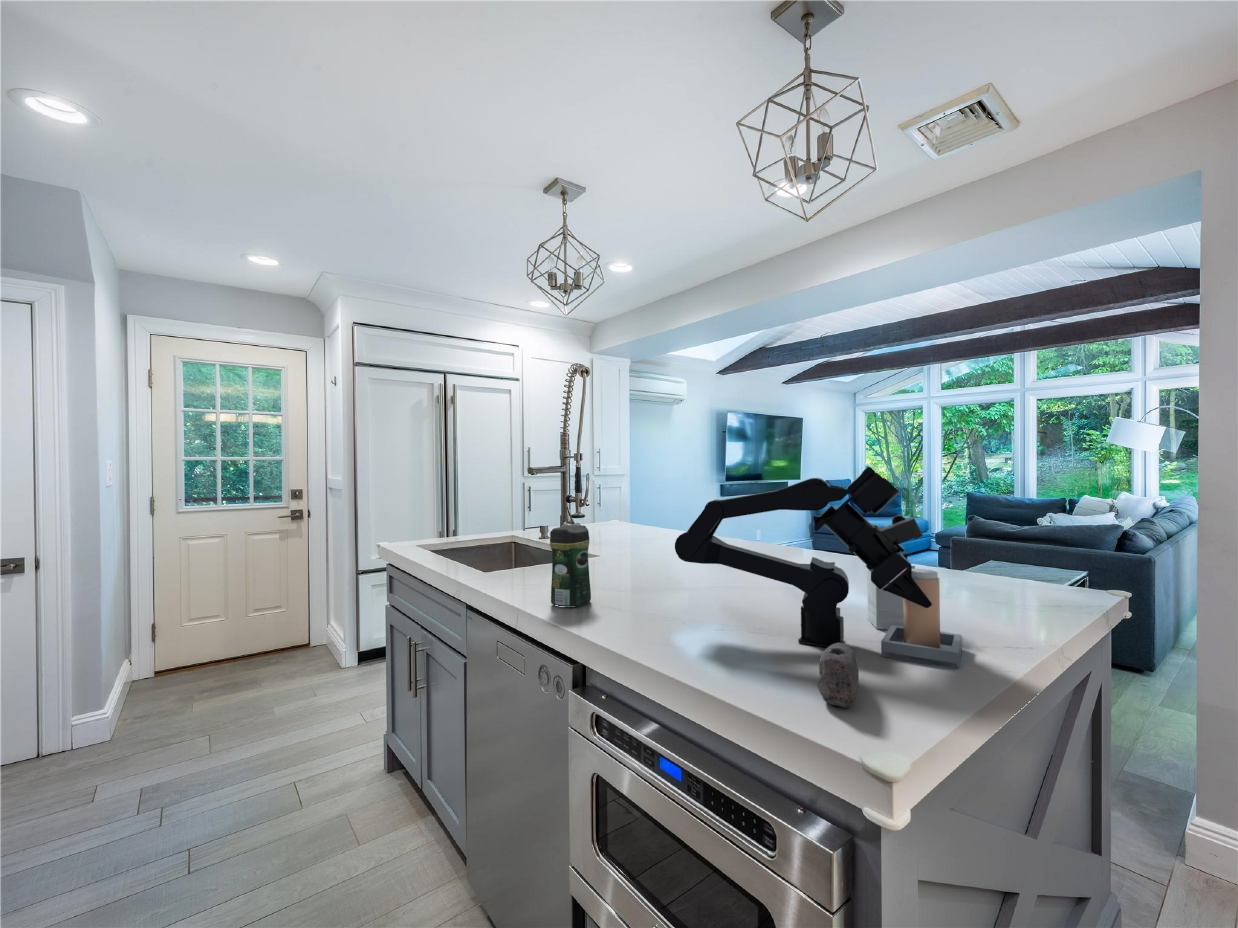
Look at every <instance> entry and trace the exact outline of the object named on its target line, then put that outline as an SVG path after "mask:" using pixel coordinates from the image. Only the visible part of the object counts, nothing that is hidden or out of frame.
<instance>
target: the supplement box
mask: <svg viewBox="0 0 1238 928" xmlns="http://www.w3.org/2000/svg"><path fill="white" fill-rule="evenodd" d="M911 566H912V569H916V566H915V565H914V564H912V563H911ZM866 584H867V585H866V589H867V591H866V592H867V620H868V621H869V622H870V623H871V625H873V626H874V628H875V629H877V630H887V631H888V630H889V628H890V627H891V625H894V626H901V627H904V626H903V598H902V597H900V596H897V595H895V594H892V593H890V592H887V591H884V590H882V588H881V589H879V588H878V587H877V586H876V585H875V584H874V583H873V582H872V581H871V571H870V570H869V569H868V568H867V567H866Z"/></svg>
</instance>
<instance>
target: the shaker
mask: <svg viewBox="0 0 1238 928" xmlns="http://www.w3.org/2000/svg"><path fill="white" fill-rule="evenodd" d="M938 573H939V572H937V571H935V570H931V569H925V568H924V569H923V568H915V569H912V578H913V579H914V580H915V582H916V583H917V584H918V586H919V587H920V588H921V590H922V591H923V592H924V594H925V595H926V596H927V598H928V599H929V600H930V602H931V603H932V605H931V606H930V607H929V608H925V607H923V606H920V605H918V604H916V603H914V602H911V601H909V600H907V599H904V598H903V626H904V643H908V644H914V645H921V646H928V647H934V648H940V632H941V605H940V603H941V597H940V593H941V591H940V578H939V577H938V575H939V574H938Z"/></svg>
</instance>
